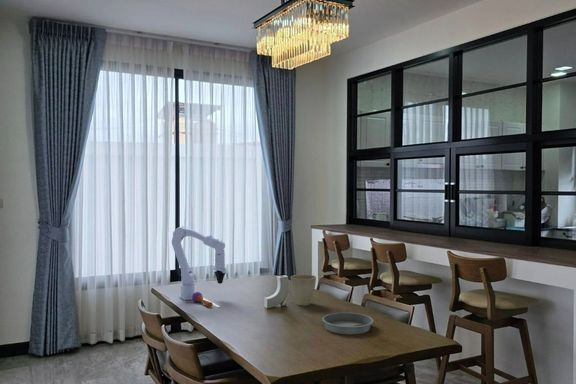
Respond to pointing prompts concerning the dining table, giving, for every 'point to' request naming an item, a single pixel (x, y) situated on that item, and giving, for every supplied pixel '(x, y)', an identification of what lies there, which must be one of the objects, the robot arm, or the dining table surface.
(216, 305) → the strip
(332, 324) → the cake pan
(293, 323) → the dining table surface
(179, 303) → the dining table surface
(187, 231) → the robot arm
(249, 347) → the dining table surface
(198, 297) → the kendama
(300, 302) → the plant pot
